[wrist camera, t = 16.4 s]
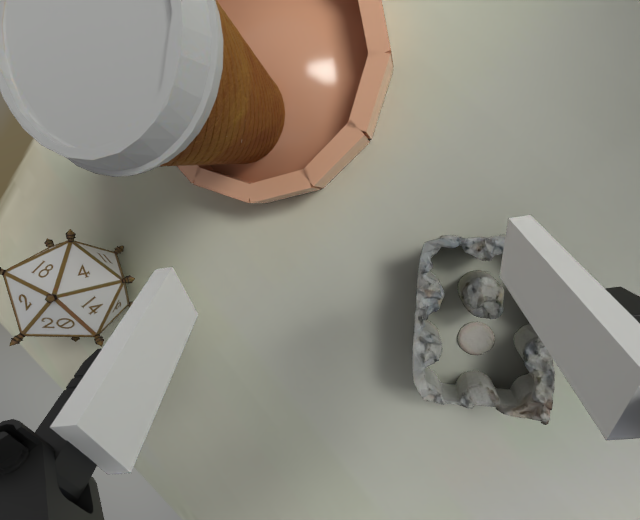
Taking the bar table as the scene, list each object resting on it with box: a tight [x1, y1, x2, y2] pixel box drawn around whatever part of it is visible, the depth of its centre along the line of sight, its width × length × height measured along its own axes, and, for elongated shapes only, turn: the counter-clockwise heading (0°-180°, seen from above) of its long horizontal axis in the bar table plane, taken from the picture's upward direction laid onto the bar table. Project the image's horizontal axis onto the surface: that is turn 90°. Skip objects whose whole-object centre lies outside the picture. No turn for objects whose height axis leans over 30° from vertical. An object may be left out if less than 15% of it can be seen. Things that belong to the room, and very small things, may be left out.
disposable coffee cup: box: [0, 0, 285, 177], centre depth 18 cm, size 10×10×12 cm
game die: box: [0, 229, 135, 346], centre depth 26 cm, size 9×8×10 cm
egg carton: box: [412, 234, 555, 425], centre depth 20 cm, size 11×8×4 cm
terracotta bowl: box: [177, 0, 393, 203], centre depth 22 cm, size 16×16×2 cm
